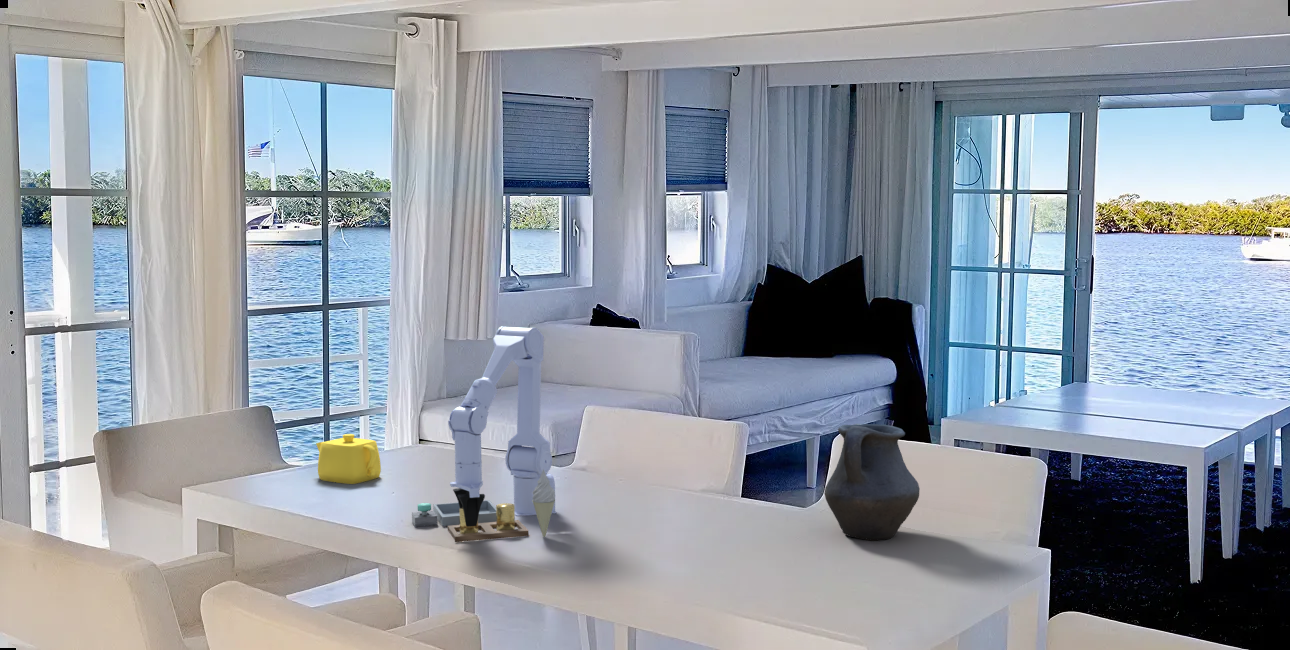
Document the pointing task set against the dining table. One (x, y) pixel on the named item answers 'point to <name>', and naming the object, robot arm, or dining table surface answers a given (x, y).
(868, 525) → the pitcher
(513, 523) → the cylinder
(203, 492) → the dining table surface
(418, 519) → the button housing
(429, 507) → the button
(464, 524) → the block
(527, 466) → the robot arm
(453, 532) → the board
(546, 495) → the ice cream cone
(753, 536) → the dining table surface
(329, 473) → the teapot
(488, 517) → the tray
